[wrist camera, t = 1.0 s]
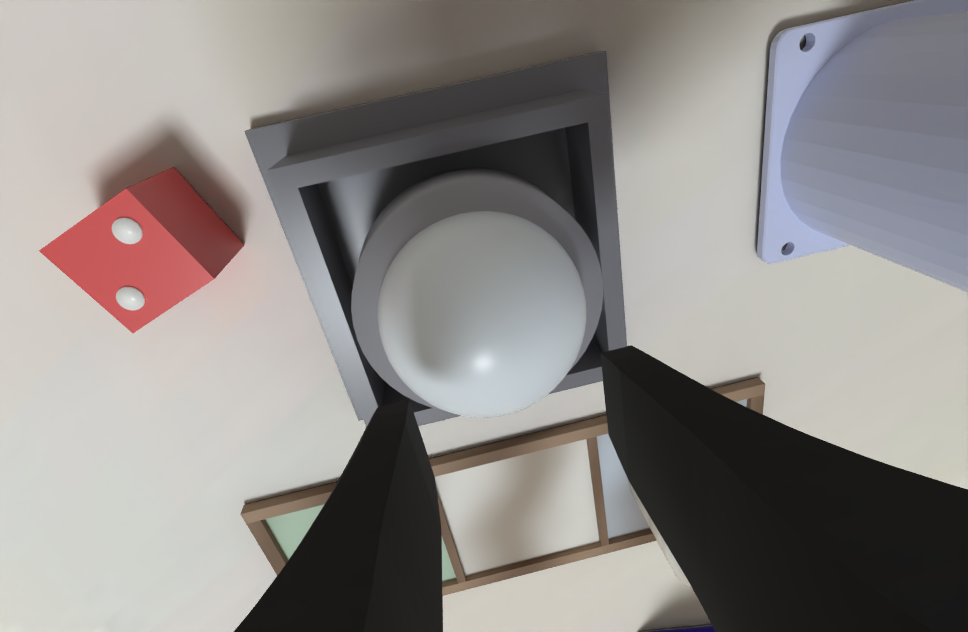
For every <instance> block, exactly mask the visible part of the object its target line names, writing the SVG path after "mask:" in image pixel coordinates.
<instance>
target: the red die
mask: <svg viewBox="0 0 968 632" xmlns="http://www.w3.org/2000/svg"><path fill="white" fill-rule="evenodd" d="M243 246H244V244H243V243H242V242H241V241H240V240H239V238H238V237H237V236H236V235H235V234H234V233H233V232H232V231H231V230H230V229H229V227H228V226H227V225H226V224H225V223H224V222H223V221H222V220H221V219H220V217H219V216H218V215H217V214H216V213H215V212H214V211H213V210H212V209H211V208H210V206H209V205H208V204H207V203H206V202H205V201H204V200H203V199H202V198H201V196H200V195H199V194H198V193H197V192H196V191H195V190H194V189H193V188H192V187H191V185H190V184H189V183H188V182H187V181H186V180H185V179H184V178H183V177H182V175H181V174H180V173H179V172H178V171H177V170H176V169H175V168H174V167H173V168H171V169H168V170H166V171H164V172H162V173H159V174H157V175H155V176H153V177H150V178H148V179H146V180H144V181H141V182H139V183H137V184H135V185H132V186H130V187H128V188H126V189H124V190H123V191H122V192H120V193H119V194H117V195H116V196H115V197H113V198H112V199H110V200H109V201H108V202H106V203H105V204H104V205H102V206H101V207H99V208H98V209H97V210H95V211H94V212H92V213H91V214H90V215H88V216H87V217H85V218H84V219H83V220H81V221H80V222H78V223H77V224H76V225H74V226H73V227H71V228H70V229H69V230H67V231H66V232H65V233H63V234H62V235H60V236H59V237H58V238H56V239H55V240H53V241H52V242H51V243H49V244H48V245H46V246H45V247H44V248H42V249H41V250H39V251H40V252H41V253H42V254H43V255H44V256H45V257H46V258H48V259H49V260H50V261H51V262H52V263H53V264H54V265H56V266H57V267H58V268H59V269H60V270H61V271H62V272H64V273H65V274H66V275H67V276H68V277H69V278H70V279H72V280H73V281H74V282H75V283H76V284H77V285H78V286H80V287H81V288H82V289H83V290H84V291H85V292H86V293H88V294H89V295H90V296H91V297H92V298H93V299H94V300H96V301H97V302H98V303H99V304H100V305H101V306H102V307H104V308H105V309H106V310H107V311H108V312H109V313H110V314H111V315H113V316H114V317H115V318H116V319H117V320H118V321H119V322H121V323H122V324H123V325H124V326H125V327H126V328H127V329H129V330H130V331H131V332H132V333H134V332H136V331H137V330H139V329H140V328H142V327H143V326H145V325H146V324H148V323H149V322H151V321H152V320H154V319H155V318H157V317H158V316H160V315H161V314H162V313H164V312H165V311H167V310H168V309H170V308H171V307H173V306H174V305H176V304H177V303H179V302H180V301H182V300H183V299H185V298H186V297H188V296H189V295H191V294H192V293H194V292H195V291H197V290H198V289H200V288H201V287H203V286H204V285H206V284H207V283H209V282H210V281H212V280H213V279H215V277H216V276H217V275H218V274H219V273H220V272H221V271H222V270H223V268H224V267H225V266H226V265H227V264H228V263H229V262H230V261H231V259H232V258H233V257H234V256H235V255H236V254H237V253H238V252H239V250H240V249H241V248H242V247H243Z"/></svg>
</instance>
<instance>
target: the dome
mask: <svg viewBox="0 0 968 632" xmlns="http://www.w3.org/2000/svg"><path fill="white" fill-rule="evenodd" d="M602 301H603V279H602V273H601V267H600V264H599V261H598V257H597V254H596V252H595V249H594V247H593V245H592V243H591V241H590V239H589V238H588V236H587V235H586V233H585V232H584V230H583V229H582V227H581V226H580V225H579V224H578V223H577V222H576V221H575V220H574V218H573V217H572V216H571V215H570V214H569V213H568V212H567V211H565V210H564V209H563V208H562V207H561V206H560V205H559V204H558V203H557V202H556V201H555V200H553V199H552V198H551V197H550V196H549V195H548V194H546V193H545V192H544V191H543V190H541V189H540V188H539V187H537V186H536V185H534V184H532V183H531V182H529V181H527V180H526V179H523V178H521V177H518V176H516V175H513V174H511V173H507V172H503V171H499V170H495V169H486V168H461V169H455V170H449V171H445V172H441V173H438V174H435V175H432V176H429V177H427V178H425V179H423V180H421V181H418V182H416V183H415V184H413V185H412V186H410V187H408V188H407V189H405V190H404V191H402V192H401V193H400V194H399V195H398V196H396V197H395V198H394V199H393V200H392V201H391V202H390V203H389V204H388V205H387V206H386V207H385V208H384V209H383V210H382V211H381V213H380V214H379V215H378V217H377V218H376V220H375V221H374V223H373V224H372V226H371V228H370V230H369V232H368V234H367V236H366V238H365V241H364V244H363V247H362V250H361V253H360V257H359V261H358V265H357V270H356V274H355V278H354V284H353V290H352V301H351V312H352V320H353V326H354V330H355V333H356V337H357V340H358V343H359V345H360V347H361V349H362V352H363V354H364V355H365V357H366V358H367V360H368V362H369V363H370V365H371V366H372V367H373V369H374V370H375V371H376V372H377V373H378V375H379V376H380V377H381V378H382V379H383V380H384V381H386V382H387V383H388V384H389V385H390V386H391V387H392V388H394V389H395V390H397V391H398V392H400V393H401V394H402V395H404V396H406V397H408V398H410V399H412V400H414V401H416V402H418V403H420V404H423V405H426V406H428V407H432V408H436V409H440V410H443V411H447V412H450V413H453V414H457V415H461V416H466V417H474V418H489V417H498V416H503V415H508V414H511V413H515V412H518V411H520V410H523V409H525V408H527V407H529V406H531V405H533V404H535V403H537V402H538V401H540V400H541V399H542V398H544V397H545V396H547V395H548V394H549V393H550V392H551V391H552V390H553V389H555V387H556V386H557V385H558V384H559V383H560V382H561V381H562V380H563V378H564V377H565V376H566V374H567V373H568V372H569V371H570V370H571V369H572V368H573V366H574V365H575V364H576V363H577V362H578V360H579V359H580V358H581V356H582V355H583V354H584V352H585V351H586V349H587V347H588V345H589V343H590V342H591V340H592V338H593V335H594V333H595V330H596V328H597V325H598V322H599V318H600V314H601V310H602Z"/></svg>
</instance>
